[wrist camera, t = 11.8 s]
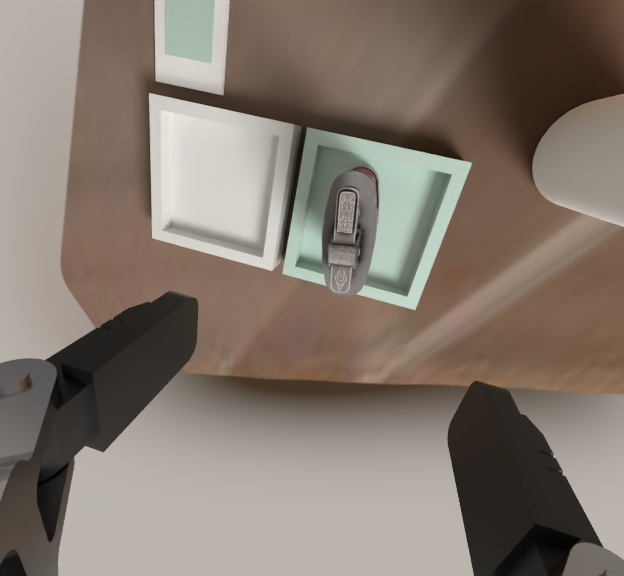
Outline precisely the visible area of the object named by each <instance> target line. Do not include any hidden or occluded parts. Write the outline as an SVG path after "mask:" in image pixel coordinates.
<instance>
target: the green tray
mask: <svg viewBox="0 0 624 576" xmlns="http://www.w3.org/2000/svg"><path fill="white" fill-rule="evenodd" d="M471 164H472V163H470V162H466V161H461V160H457V159H452V158H447V157H443V156H438V155H433V154H429V153H424V152H420V151H415V150H410V149H406V148H401V147H396V146H392V145H387V144H383V143H378V142H373V141H369V140H364V139H359V138H355V137H350V136H346V135H341V134H336V133H332V132H327V131H322V130H318V129H313V128H309V127H307V132H306V138H305V144H304V150H303V156H302V161H301V167H300V173H299V179H298V185H297V191H296V197H295V203H294V209H293V215H292V220H291V226H290V232H289V238H288V244H287V250H286V256H285V262H284V268H283V274H285V275H289V276H293V277H296V278H300V279H304V280H307V281H311V282H315V283H318V284H322V285H326V283H325V278H324V271H323V263H322V231H323V223H324V216H325V209H326V205H327V201H328V198H329V194H330V190H331V186H332V184H333V182H334V180H335V179H336V178H337V177H338V176H339V175H340V174H342V173H345V172H347V171H349V170H351V169H352V168H354V167H356V166H360V165H365V166H369V167H371V168H373V169H374V170H375V171H376V173H377V174H378V178H379V192H380V205H379V220H378V225H377V233H376V240H375V245H374V250H373V255H372V260H371V265H370V268H369V271H368V274H367V277H366V280H365V283H364V286H363V288H362V289H361V291H360V292H358V293H357V294H358V295H362V296H366V297H369V298H373V299H377V300H380V301H384V302H388V303H391V304H395V305H399V306H402V307H406V308H410V309H413V310H415V309H416V307H417V304H418V302H419V299H420V296H421V294H422V291H423V289H424V286H425V283H426V281H427V278H428V276H429V273H430V271H431V268H432V265H433V263H434V260H435V258H436V255H437V252H438V250H439V247H440V245H441V242H442V239H443V237H444V234H445V232H446V229H447V227H448V224H449V221H450V219H451V216H452V214H453V211H454V208H455V206H456V203H457V201H458V198H459V196H460V193H461V190H462V188H463V185H464V183H465V180H466V177H467V175H468V172H469V170H470V167H471Z"/></svg>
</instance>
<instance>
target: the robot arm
mask: <svg viewBox="0 0 624 576" xmlns="http://www.w3.org/2000/svg"><path fill="white" fill-rule="evenodd" d="M197 323H198V301H197V299H196V298H194V297H190V296H187V295H183V294H180V293H177V292H173V291H169V292H167V293H165V294H164V295H162V296H161V297H159V298H158V299H156V300H155V301H153V302H152V303H150V302H146V303H143V304H140V305H137V306H134V307H131V308H128V309H127V310H125V311H123V312H122V313H120V314H119V315H117V316H115V317H114V318H113V320H111V319H110V320H109V321H107V322H106V323H104V324H102V325H101V327H100V328H96V329H95V330H93V331H91V332H90V333H88V334H87V335H85V336H84V337H82V338H80V339H78V340H77V341H75V342H74V343H72V344H70V345H69V346H67V347H66V348H64V349H62V350H61V351H59V352H58V353H56V354H54V355H53V356H51V357H50V358H48V359H46V360H41V359H31V358H29V359H17V360H12V361H7V362H3V363H0V576H58V554H59V546H60V541H61V535H62V530H63V524H64V519H65V514H66V508H67V503H68V497H69V492H70V486H71V480H72V476H73V470H74V463H75V460H74V456H75V455H76V454H77V453H78V452H79V451H80V450H81V449H82V448H83V447H84V446H88V447H90V448H93V449H96V450H99V451H102V452H104V451H105V450H106V449H107V448H108V447H109V446H110V445H111V443H112V442H113V441H114V440H115V439H116V438H117V437H118V436H119V435H120V434H121V433H122V432H123V431H124V429H126V427H127V426H128V425H129V424H130V423H131V422H132V421H133V420H134V419H135V418H136V417H137V416H138V414H139V413H140V412H141V411H142V410H143V409H144V408H145V407H146V406H147V405H148V404H149V403H150V402H151V401H152V400H153V398H154V397H155V396H156V395H157V394H158V393H159V392H160V391H161V390H162V389H163V388H164V387H165V386H166V385H167V383H168V382H169V381H170V380H171V379H172V378H173V377H174V376H175V375H176V374H177V373H178V372H179V371H180V370H181V368H182V367H183V366H184V365H185V364H186V363H187V362H188V361H189V359H190V358H191V356H192V354H193V352H194V350H195V347H196V342H197ZM448 447H449V452H450V457H451V462H452V467H453V472H454V477H455V482H456V487H457V492H458V497H459V502H460V507H461V512H462V517H463V522H464V527H465V532H466V537H467V542H468V547H469V552H470V557H471V563H472V568H473V573H474V576H624V560H623V559H622V558H620V557H619V556H617V555H616V554H614V553H612V552H611V551H609V550H607V549H605V548H604V547H603V546H602V544H601V542H600V540H599V538H598V536H597V534H596V533H595V531H594V529H593V527H592V525H591V523H590V521H589V520H588V518H587V516H586V514H585V512H584V510H583V508H582V506H581V505H580V503H579V501H578V499H577V497H576V496H575V493H574V492H573V490H572V488H571V486H570V484H569V482H568V480H567V478H566V477H565V476H563V475H562V473H563V471H562V469H561V467H560V466H559V464H558V462H557V460H556V459H555V458H553V452H552V450H551V449H550V447H549V445H548V443H547V441H546V439H545V437H544V436H543V434H542V433H541V432H540V431H539V430H538V429H537V427H536V426H535V425H534V424H533V423H532V422H531V421H530V420H529V419H528V418H527V416H526V415H522V414H520V412H519V410H518V408H517V406H516V404H515V402H514V400H513V398H512V396H511V394H510V392H509V391H508V390H506V389H503V388H500V387H496V386H493V385H489V384H486V383H483V382H479V381H475V382H473V383H472V384H471V385H470V387H469V389H468V391H467V393H466V394H465V396H464V398H463V400H462V402H461V404H460V405H459V407H458V409H457V411H456V413H455V415H454V417H453V418H452V421H451V423H450V426H449V430H448Z"/></svg>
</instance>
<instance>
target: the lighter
mask: <svg viewBox="0 0 624 576" xmlns="http://www.w3.org/2000/svg"><path fill="white" fill-rule="evenodd" d="M379 205H380V192H379V178H378V174H377V173H376V171H375V170H374V169H373V168H371V167H369V166H365V165H360V166H356V167H354V168H352V169H351V170H349V171H347V172H345V173H342V174H340V175H339V176H338V177H337V178H336V179H335V180H334V182H333V184H332V186H331V190H330V194H329V198H328V201H327V205H326V209H325V216H324V223H323V231H322V263H323V271H324V278H325V283H326V286H327V287H328V289H329V290H330V291H331V292H333V293H334V294H336V295H340V296H352V295H356V294H357V293H358V292H360V291H361V289H362V288H363V286H364V283H365V280H366V277H367V274H368V271H369V268H370V265H371V260H372V255H373V250H374V245H375V240H376V233H377V225H378V220H379Z"/></svg>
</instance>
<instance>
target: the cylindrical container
mask: <svg viewBox="0 0 624 576" xmlns="http://www.w3.org/2000/svg"><path fill="white" fill-rule="evenodd" d="M532 173H533V179H534V182H535V185H536V187H537V189H538V190H539V192H540V193H541V194H542V195H543V196H544V197H545V198H546V199H547V200H549V201H551V202H553V203H554V204H557V205H560V206H563V207H566V208H569V209H572V210H575V211H578V212H581V213H584V214H587V215H590V216H593V217H596V218H599V219H602V220H605V221H608V222H611V223H614V224H617V225H620V226H623V227H624V94H620V95H616V96H612V97H607V98H603V99H599V100H595V101H591V102H588V103H585V104H582V105H580V106H578V107H576V108H574V109H572V110H570V111H569V112H567V113H566V114H564V115H563V116H562V117H560V118H559V119H558V120H557V121H556V122H555V123H554V124H553V125H552V126H551V127H550V128H549V129H548V130H547V132H546V133H545V134H544V136H543V137H542V138H541V140H540V142H539V144H538V146H537V148H536V151H535V154H534V157H533V164H532Z"/></svg>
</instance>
